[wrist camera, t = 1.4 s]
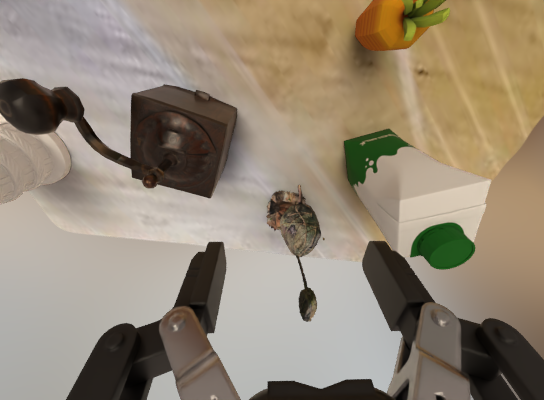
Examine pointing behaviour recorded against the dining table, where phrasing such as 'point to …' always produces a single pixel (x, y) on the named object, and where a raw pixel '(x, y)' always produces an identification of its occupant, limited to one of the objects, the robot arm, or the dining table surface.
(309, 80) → the dining table surface
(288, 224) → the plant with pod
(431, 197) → the milk carton
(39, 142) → the decorative container
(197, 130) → the manual coffee grinder
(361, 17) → the carrot
